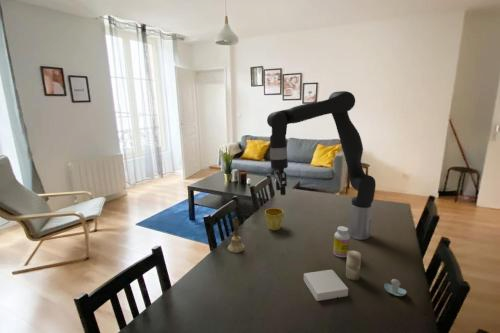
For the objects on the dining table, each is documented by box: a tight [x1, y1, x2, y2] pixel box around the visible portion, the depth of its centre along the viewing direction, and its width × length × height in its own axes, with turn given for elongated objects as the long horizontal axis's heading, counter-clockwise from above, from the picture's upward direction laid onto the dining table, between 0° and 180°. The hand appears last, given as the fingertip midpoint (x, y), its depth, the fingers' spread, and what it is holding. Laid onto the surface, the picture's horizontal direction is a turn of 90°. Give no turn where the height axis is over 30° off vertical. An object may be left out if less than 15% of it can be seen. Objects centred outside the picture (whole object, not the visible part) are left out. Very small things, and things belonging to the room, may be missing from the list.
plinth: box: [303, 269, 349, 302], centre depth 105 cm, size 12×12×3 cm
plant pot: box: [264, 207, 285, 231], centre depth 154 cm, size 10×10×10 cm
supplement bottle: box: [332, 225, 351, 258], centre depth 127 cm, size 7×7×13 cm
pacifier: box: [383, 278, 407, 297], centre depth 102 cm, size 7×6×6 cm
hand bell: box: [227, 216, 246, 254], centre depth 132 cm, size 8×8×16 cm
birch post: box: [345, 250, 362, 281], centre depth 111 cm, size 5×5×10 cm
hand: (280, 192), depth 128 cm, fingers open, 8 cm apart
